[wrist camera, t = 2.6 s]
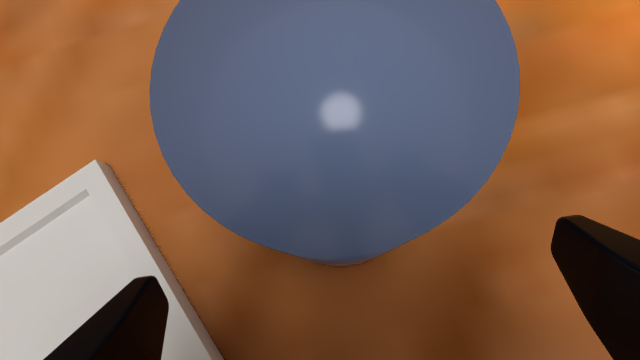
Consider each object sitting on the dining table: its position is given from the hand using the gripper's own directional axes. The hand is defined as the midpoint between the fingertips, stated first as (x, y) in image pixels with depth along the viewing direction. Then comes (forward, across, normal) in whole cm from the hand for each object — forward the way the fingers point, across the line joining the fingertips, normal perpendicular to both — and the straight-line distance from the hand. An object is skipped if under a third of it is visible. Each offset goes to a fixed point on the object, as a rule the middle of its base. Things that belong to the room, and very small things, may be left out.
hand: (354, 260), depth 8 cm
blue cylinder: (+10, 0, +5) cm, 11 cm away
